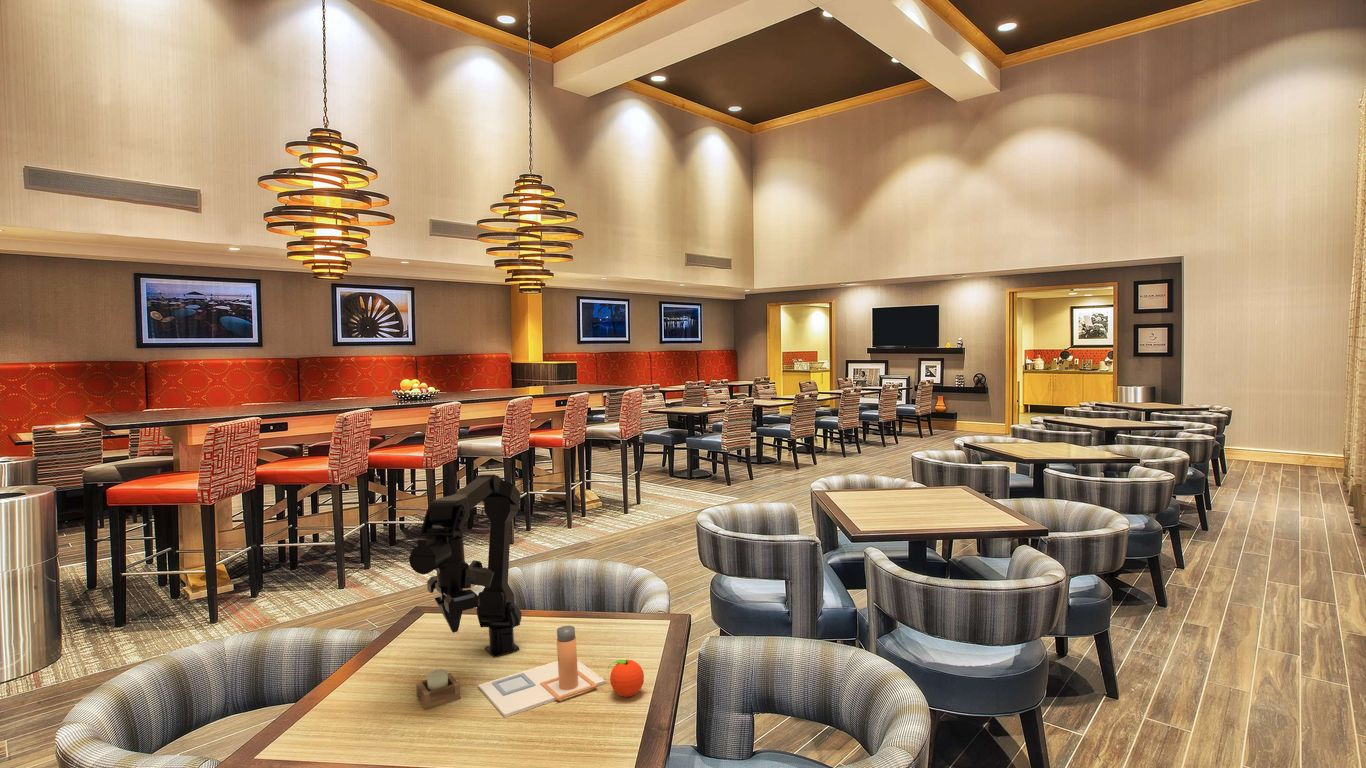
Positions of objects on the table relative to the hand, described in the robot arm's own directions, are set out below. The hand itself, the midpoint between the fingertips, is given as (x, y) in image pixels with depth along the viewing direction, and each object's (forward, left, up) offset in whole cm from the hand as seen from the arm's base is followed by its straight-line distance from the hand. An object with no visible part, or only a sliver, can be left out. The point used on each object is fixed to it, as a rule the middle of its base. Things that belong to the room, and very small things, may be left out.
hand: (454, 631), depth 144 cm
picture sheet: (+10, +15, -13) cm, 22 cm away
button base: (+1, -4, -13) cm, 13 cm away
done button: (+1, -4, -12) cm, 12 cm away
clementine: (+25, +27, -13) cm, 39 cm away
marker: (+15, +19, -12) cm, 27 cm away
